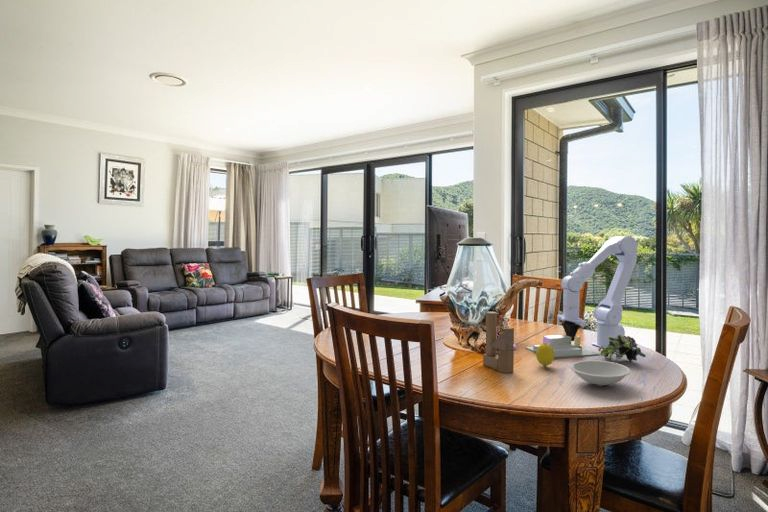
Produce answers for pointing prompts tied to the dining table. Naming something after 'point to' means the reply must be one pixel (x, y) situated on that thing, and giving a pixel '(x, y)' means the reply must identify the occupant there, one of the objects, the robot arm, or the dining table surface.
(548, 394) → the dining table surface
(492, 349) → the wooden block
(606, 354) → the green leafy plant
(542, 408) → the dining table surface
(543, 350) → the lemon
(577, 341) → the block
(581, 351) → the vise base
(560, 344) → the steel block
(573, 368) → the dish
